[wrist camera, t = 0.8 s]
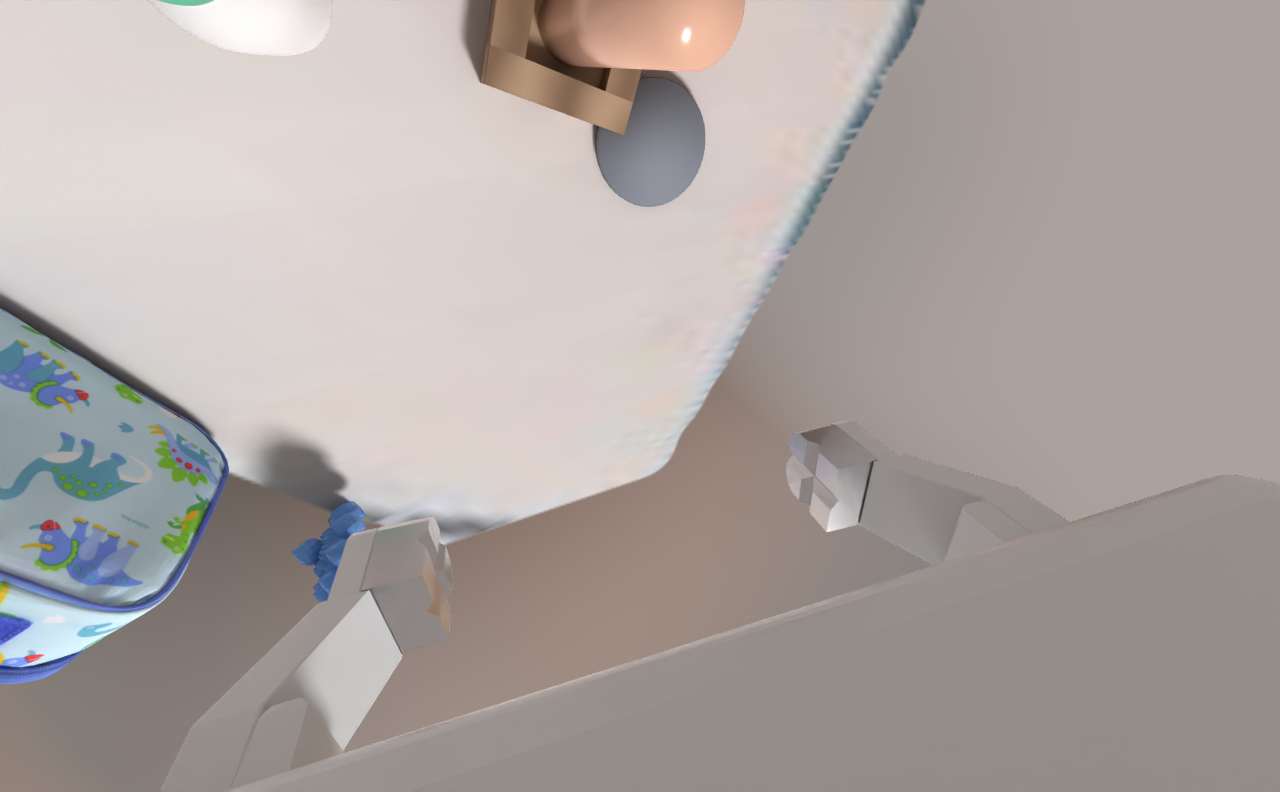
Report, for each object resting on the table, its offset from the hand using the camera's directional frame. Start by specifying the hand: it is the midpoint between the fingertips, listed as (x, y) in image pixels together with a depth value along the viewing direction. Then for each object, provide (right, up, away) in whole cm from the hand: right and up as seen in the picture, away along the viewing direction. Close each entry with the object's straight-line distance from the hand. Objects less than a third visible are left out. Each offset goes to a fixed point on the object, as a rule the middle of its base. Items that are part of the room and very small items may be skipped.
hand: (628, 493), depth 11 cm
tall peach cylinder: (-5, +32, +28) cm, 43 cm away
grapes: (-35, -11, +45) cm, 58 cm away
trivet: (+1, +27, +36) cm, 45 cm away
